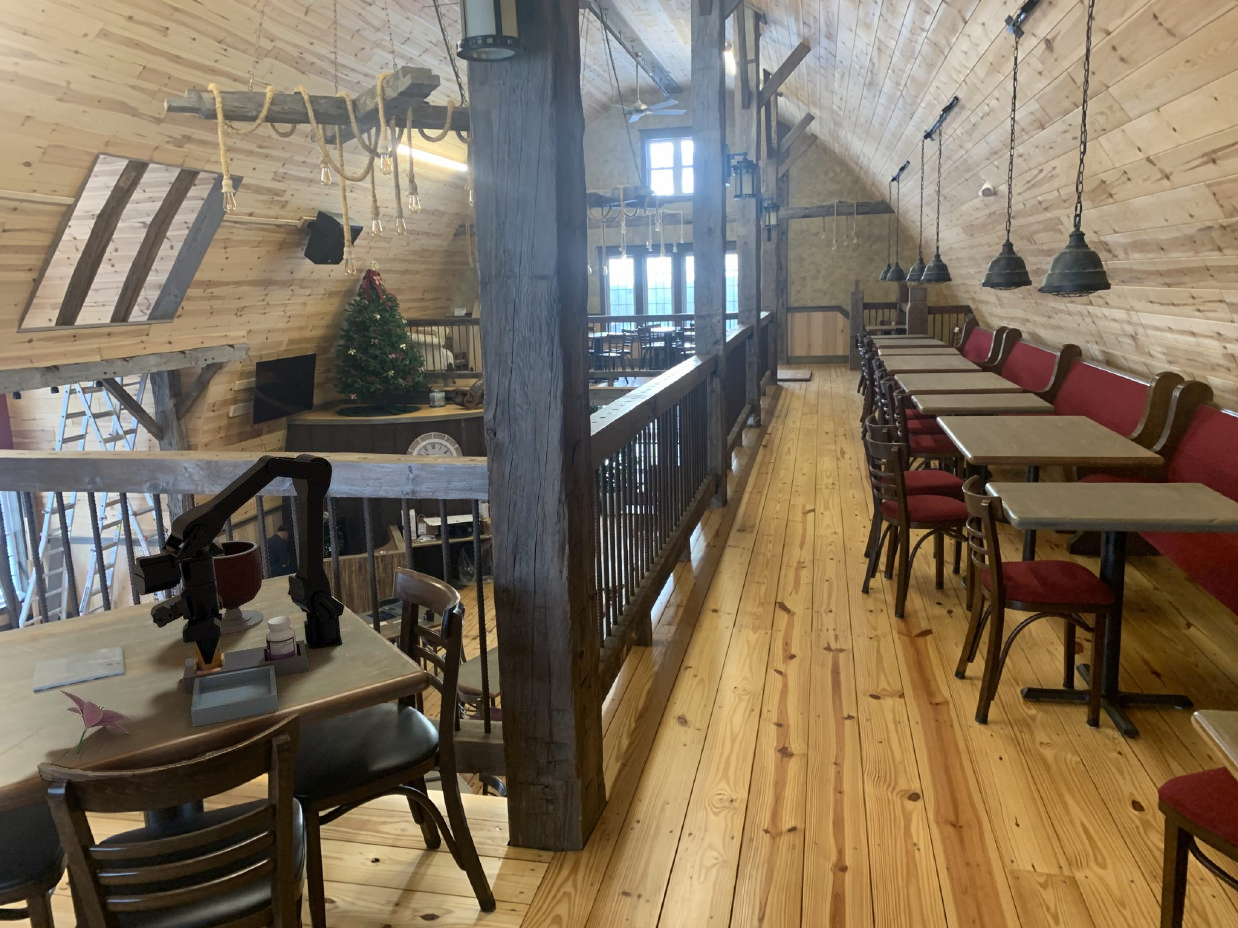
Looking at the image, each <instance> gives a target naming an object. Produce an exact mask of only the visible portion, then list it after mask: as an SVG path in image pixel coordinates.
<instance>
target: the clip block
mask: <svg viewBox="0 0 1238 928" xmlns="http://www.w3.org/2000/svg"><path fill="white" fill-rule="evenodd" d="M305 643H306V642H305V639H302V640H296V647H297V656H296V657H290V658H284V659H278V660H272V661H268V653H267V645H266V646H259V647H252V648H247V649H240V650H236V651H230V652H229V651H228V652H223V653H222V652H221V661H222V667H218V668H212V669H206V670H200V671H199V670H198V661H197V657H191V658H186V659H185V664H184V669H183V677H182V678H183V686H184V694H190V693H193V690H194V681H195V679H196V678H202V677H207V676H213V675H219V674H225V673H231V672H236V671H242V670H248V669H254V668H260V667H266V666H271V665H274V669H275V678H279V677H286V676H291V675H296V674H302V673H308V672H309V664H308V663H309V662H308V656H307V649H306V644H305Z"/></svg>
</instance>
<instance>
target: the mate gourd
mask: <svg viewBox="0 0 1238 928" xmlns="http://www.w3.org/2000/svg"><path fill="white" fill-rule="evenodd" d="M212 542H214V543H215V544H216V545H217V546H218V547H220V548H221V549H223V550H225V553H223V554H219V555H215V556H213V559H214V567H215V576H216V580H217V593H218V594H219V595H220V596H222V603H223V609H225V612H221V613H222V621H221V627H222V632H221V634H229V633H230V634H233V633H237V632H243V631H246V630H249V629H251V628H255V627H256V626H259V625H260V624H261V623H262V622H263V621H264V619H265V618H264V613H263V612H261V611H258V610H254V609H241V608H240V607H242V606H243V605H245V604H247V603H249V602H251V601H253V600H254V599H255V597H256V596H257V595H258V594H259V591H260V590H261V588H262V582H263V564H262V558H261V555H260V551H259V548H258V544H257V543H256V542H253V541H250V540H249V541H248V540H227V541H220V539H218V537H216V538H215V539H214V540H213V541H212Z"/></svg>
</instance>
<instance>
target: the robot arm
mask: <svg viewBox="0 0 1238 928" xmlns="http://www.w3.org/2000/svg"><path fill="white" fill-rule="evenodd" d="M331 463H332V462H330V461H329V460H327V458H324V457H323V456H318V455H313V454H311V453H310V454H309V453H300V454H299V455H297V456H296V457H291V456H276V455H275V456H274V455H269V454H265V455H264V454H263V455H262V456H261V457H259V458H258V459H257V461H256V462H255V463H254V464H252V466H250V467H249V468H248V469H246V470H244V472H243V473H242V474H240V475H239V476H238V477H237V478H235V479H234V480H233V481H232V482H231V483H230V484H228V485H226V487H225V488H223V489H222V490H221V491H219V493H217V494H216V495H215V496H214V497H212V498H211V499H210V500H208V501H206V502H203V503H201V504H198V505H196V506H193V507H192V508H190V509H188V510H187V511H185V512H183V513H181V514H180V515H178V516H177V517H176V518H175V519H174V520H173V521H172V523H171V532H170V534H169V536H168V537H167V539H166V540H165V542H164V544H163V545H162V547H161V550H160V551H161V553H156V554H151V555H143V556H137V557H135V565H134V568H133V573H132V578H133V583H134V586H135V588H136V591H137V593H138V594H139V595H140V597H141V596H146V595H151V594H155V593H159V592H163V591H167V590H172V589H174V588H176V587H177V586H178V585H180V584H181V585H182V586H181V592H180V594H178V595H175V596H174V595H173V596H172V597H170V598H168V599H166V600H164V601H161V602H159V603H157V604H155V605H154V606H152V607H151V610H150V616H151V618H152V622H153V623H154V624H156V626H157V627H158V628H159V629H161V628H164V627H165V626H167V625H168V624H170V623H172V622H174V621H176V620H178V619H181V618H182V617H183V618H182V619H183V621H184V620H187V622H186V623H185V624H184V625H183V627H182V631H181V633H182V641H183V643H185V644H188V643H195V645H196V644H197V646H198V648H199V651H200V653H201V656H202V658H203V660H204V663H205V664H211V663H212V660H213V657H214V654H215V650H216V647H217V644H218V641H220V638H221V637H222V633H221V632H222V627H221V621H222V613H223V612H220V611H222V610H223V609H224V608H223V603H222V596H220V595H219V594H218V593H217V580H216V576H215V567H214V559H213V556H215V555H219V554H223V553H225V550H223V549H221V548H220V547H218V546H217V545H216V544H215V543H214V542H212V541H213V540H214V539H215V538H218V535H219V534H220V533H221V532H222V531H223V529H224V526H225V525H226V522H227V521H228V520H229V519H230V518H231V516H232V515H234V514H235V513H237V512H238V510H240V509H242V507H243V506H244V505H245V504H247V503H248V502H249V501H250V500H251V499H253V498H254V497H256V495H258V494H259V493H260V492H261V491H262V490H263V489H264V488H265V487H267V486H268V485H269V484H270V483H271V482H273V481H274V480H275V479H277V478H287V479H291V482H292V486H293V488H294V490H295V493H296V496H297V498H298V563H299V564H298V569H297V570H296V573H295V574H294V575H288V592H287V595H288V596H290V599H291V602H292V603H293V604H294V605H296V606H297V607H298V608H300V610H301V612H302V613H305V618H306V620H304V621H303V627H304V628H303V629H304V638H305V639H304V640H305V643H306V644H307V645H308V647H309V648H308V649H310V650H314V649H318V648H319V649H320V648H323V647H332V646H337V645H341V644H343V639H342V635H341V625H340V617H341V616H343V613H344V610H345V605H344V604H343V603H342V602H340V601H339V600H338V599H336V598H334V597H333V593H332V588H331V582H330V579H329V577H328V575H327V573H326V571H325V567H324V563H325V562H324V558H325V557H324V556H325V555H324V553H325V552H324V547H325V545H324V543H325V542H324V540H325V539H324V537H325V536H324V532H325V531H324V529H325V528H324V527H325V526H324V523H325V521H324V520H325V519H324V517H325V516H324V515H325V514H324V508H325V507H324V501H325V498H326V495H327V494H328V491H329V489H330V487H331V483H332V477H333V466H332V464H331ZM181 545H182V546H181Z"/></svg>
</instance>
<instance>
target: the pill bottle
mask: <svg viewBox="0 0 1238 928" xmlns="http://www.w3.org/2000/svg"><path fill="white" fill-rule="evenodd" d="M290 619H291V618H290V617H289V616H285V615H284V616H283V615H282V616H275V617H271V618H270V619H269V620H268V621H267V626H268V631H267V633H265V642H266V646H267V653H268V661H272V660H278V659H284V658H290V657H296V656H297V647H296V641H297V637H296V631H295V628H293V627H291V620H290Z"/></svg>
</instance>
